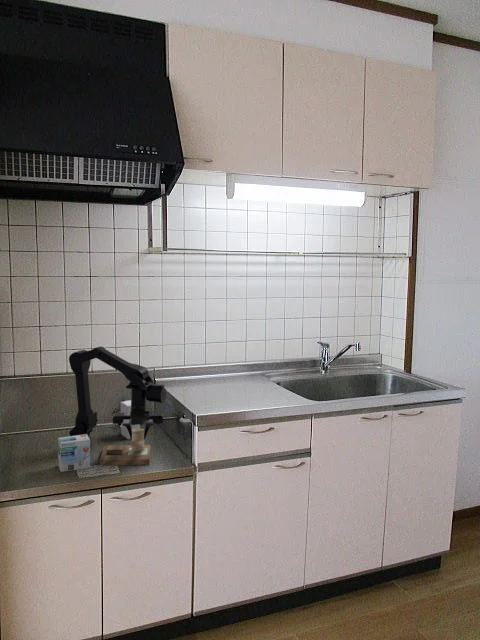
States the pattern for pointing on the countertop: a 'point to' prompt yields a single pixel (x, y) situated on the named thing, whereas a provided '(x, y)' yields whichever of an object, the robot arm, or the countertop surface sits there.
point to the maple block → (138, 440)
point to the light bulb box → (73, 452)
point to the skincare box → (126, 410)
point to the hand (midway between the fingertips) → (138, 439)
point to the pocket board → (124, 455)
